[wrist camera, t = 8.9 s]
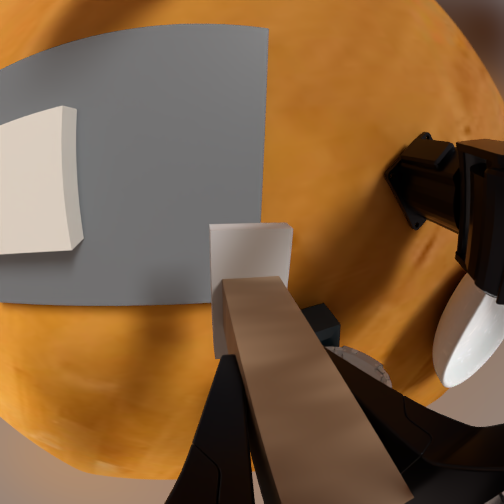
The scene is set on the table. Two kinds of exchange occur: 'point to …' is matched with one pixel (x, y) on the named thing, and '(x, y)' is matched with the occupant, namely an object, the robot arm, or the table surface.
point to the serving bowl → (466, 333)
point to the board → (146, 159)
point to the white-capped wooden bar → (291, 380)
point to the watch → (329, 338)
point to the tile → (39, 183)
